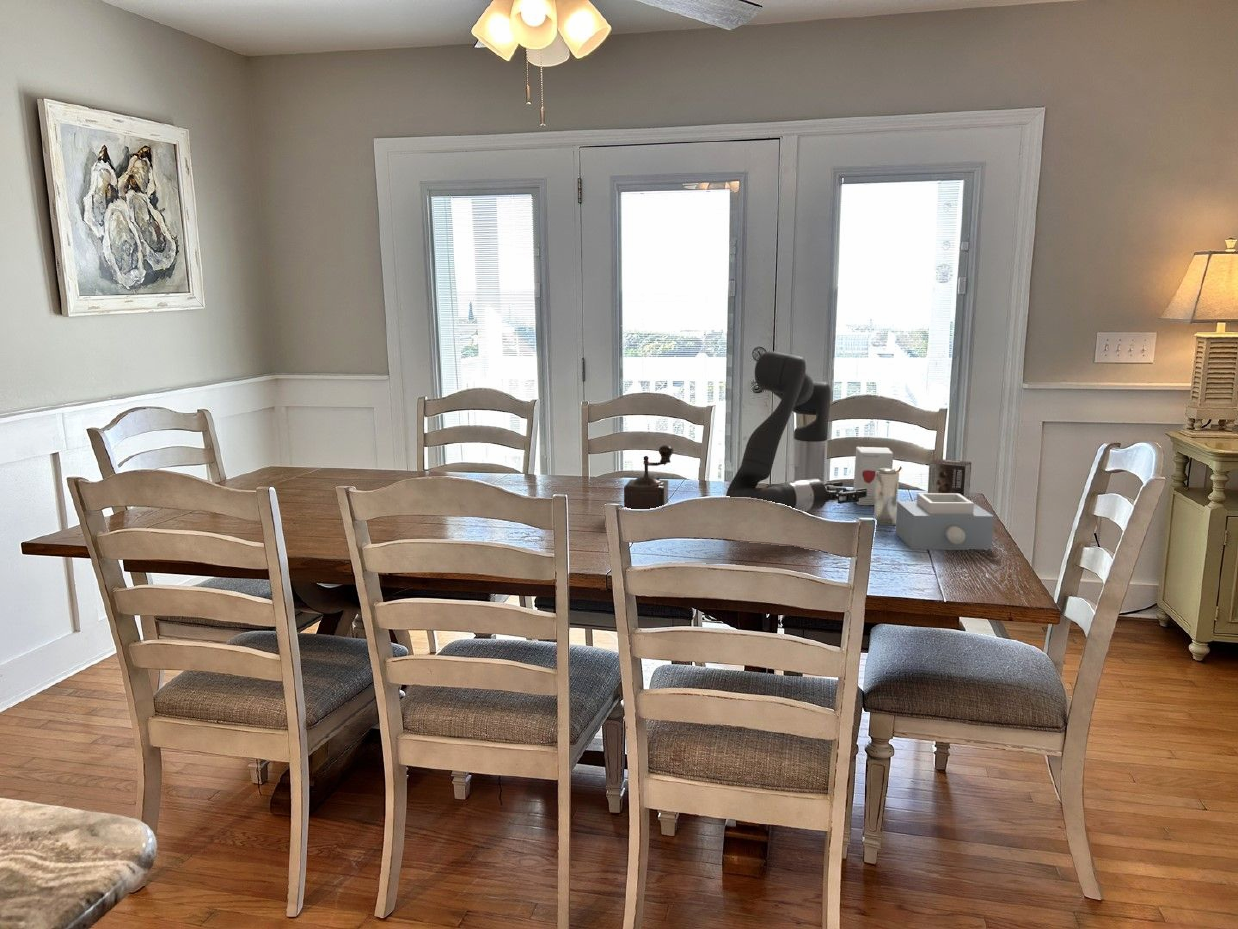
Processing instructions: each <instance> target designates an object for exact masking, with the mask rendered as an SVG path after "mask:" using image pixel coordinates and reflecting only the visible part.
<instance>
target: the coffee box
mask: <svg viewBox="0 0 1238 929" xmlns="http://www.w3.org/2000/svg"><path fill="white" fill-rule="evenodd" d="M971 472H972V461H964V460H953V459H943V458H935V459H933V460H932V461H930V462H929V463H928V478H927V479H928V480H927V484H928V485H927V493H959V494H961V495H962V496H964V497H965V498H967V499H968V500H970V486H971V474H972V473H971Z"/></svg>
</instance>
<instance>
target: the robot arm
mask: <svg viewBox="0 0 1238 929" xmlns="http://www.w3.org/2000/svg"><path fill="white" fill-rule="evenodd" d="M806 369H807V367H806V361H805V359H804V357H802V356H799V355H794V354H789V353H785V352H778V351H773V350H772V351H770V350H769V351H765V352H764V353H762V354H761V355H760V356H759V358H758V359H757V361H756V363H755V366H754V380H755V383H756V384H757V386H758V387H759V389H762V390H764V391H768V392H771V393H772V394H774V395H775V396H776V397H777V398H779V399H780V402H779V404H778V405H777V407H776V408H775V409H774V410H773V411H772V413H771V414H770V415H769V416H768V417H767V418H766V419H764V421H763V422H762V423H761V424H760V425H759V426H757V427H756V429H755V430H754V431H753V432H752V433H751V434H750V437H749V438H748V440H747V443H746V445H745V449H744V452H743V456H742V460H741V463H740V467H739V468H738V470H737V471H736V472H735V475H734V477H733V479H732V481H731V482H730V484H729V486H728V488H727V489H726V490H727V491H726V493H725V497H726V496H730V497H751V498H757V499H763V500H767V501H772V502H775V503H782V504H785V505H787V506H791V507H792V508H795V509H799V510H803V511H802V512H808V511H816V510H821V509H822V508H824V506H825V505H826V504H827V503H834V502H837V504H840V505H841V504H851V503H856V502H859V498H864V497H866V496H867V489H866V488H860V489H853V488H846V486H843V485H844V484H843V482H842V481H835V482H828V481H826V480H827V479H826V478H827V477H826V476H827V459H828V458H827V456H828V455H827V454H828V453H827V452H828V435H829V433H828V432H829V417H830V416H829V415H830V408H831V407H830V406H831V397H832V396H831V395H832V391H831V390H832V389H831V386H830V384H829V383H828V382H826V381H813V379H812V377H811V376H810V375H809V374H808V373H807V371H806ZM792 413H795V414H798V415H809V416H816V418H815V419H814V421H812V422H811V423H807V424H806V425H801V426H797V427H796V428H795V429H794V431H793V448H792V449H793V450H792V463H791V465H790V481H787V482H781V483H773V484H769V485H767V486H766V487H757V486H758V484H759V483H760V482H761V481H764V480H767V479H768V478H769V477H770V475H771V472H772V469H773V466H774V461H775V458H776V455H777V450H778V447H779V443H780V442H781V438H782V437H783V434H784V432H785V429H786V427H787V425H788V422H789V419H790V418H791V416H792Z"/></svg>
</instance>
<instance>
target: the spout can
mask: <svg viewBox="0 0 1238 929" xmlns="http://www.w3.org/2000/svg"><path fill="white" fill-rule="evenodd" d="M902 468H903V467H902V466H900V465H898V466H897V468H895V469H894V468H892V469H890V468H881V469H879V471H877V472H876V482H875V500H874V506H873V518H875V519H876V520H877V524H876V525H878V524H879V525H880V526H896V516H897V501H899V500H898V497H899V482H900V471H902ZM879 525H878V526H879Z"/></svg>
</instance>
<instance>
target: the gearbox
mask: <svg viewBox="0 0 1238 929" xmlns="http://www.w3.org/2000/svg"><path fill="white" fill-rule="evenodd" d="M994 520H995V515H993V514H991V513H990V512H989V511H987V510H985V509H984V508H983V507H981V506H979V505H978V504H977V503H974V502H973V501H971V500H970V499H969V500H968V499H967V498H965V497H964V496H962V495H961V494H959V493H928V492H925V493H923V492H922V493H921V492H919V493H918V492H917V493H916V501H915V500H914V501H911V500H909V501H908V500H907V501H906V500H905V501H904V500H903V501H901V500H900V501H899V500H898V501H897V516H896V524H895V532H894V533H895V534H896V535H897V536H898V537H899V539H901V541H903V542H904V544H906V545H907V546H908V547H909V548H910V550H916V551H917V550H918V551H919V550H924V551H925V550H927V551H930V550H931V551H932V550H933V551H934V550H935V551H939V550H940V551H970V550H969V549H981V550H980V551H983V550H982V549H985V550H984V551H992V546H993V534H994V522H995V521H994ZM986 549H987V550H986ZM988 549H990V550H988Z"/></svg>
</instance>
